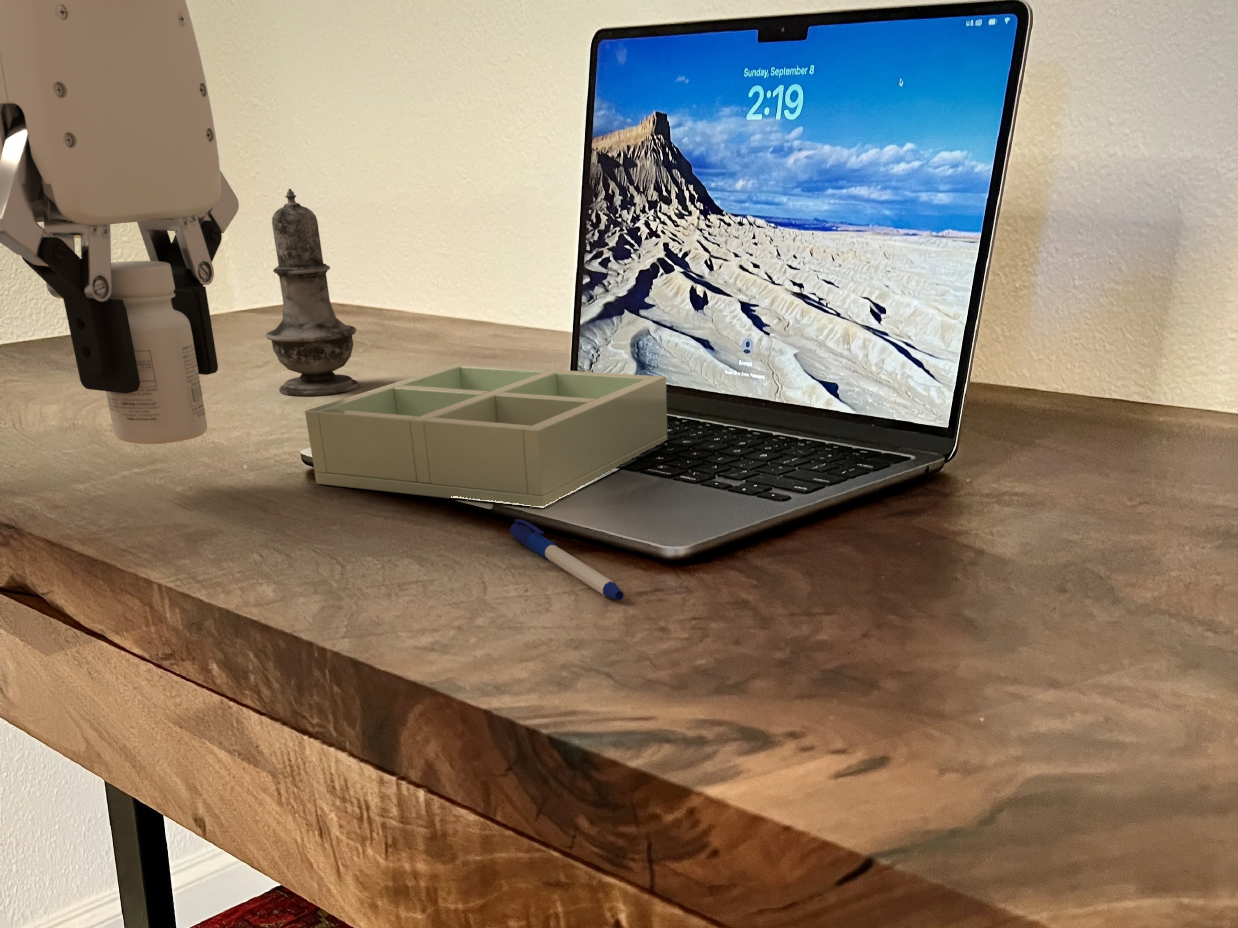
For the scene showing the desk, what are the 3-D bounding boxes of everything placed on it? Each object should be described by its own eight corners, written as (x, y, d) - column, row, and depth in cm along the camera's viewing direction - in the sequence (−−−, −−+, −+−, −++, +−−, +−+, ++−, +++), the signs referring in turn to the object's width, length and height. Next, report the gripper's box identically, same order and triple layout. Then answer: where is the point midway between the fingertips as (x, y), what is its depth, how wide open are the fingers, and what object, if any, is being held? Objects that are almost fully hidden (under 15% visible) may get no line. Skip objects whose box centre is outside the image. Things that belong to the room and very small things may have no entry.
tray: (315, 484, 68) (304, 410, 66) (462, 428, 78) (455, 363, 76) (543, 509, 63) (537, 430, 61) (668, 445, 73) (666, 376, 71)
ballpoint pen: (503, 539, 59) (501, 516, 58) (522, 535, 59) (520, 513, 59) (613, 606, 51) (611, 580, 50) (633, 601, 51) (632, 576, 51)
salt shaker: (381, 383, 91) (356, 185, 85) (319, 399, 87) (288, 192, 81) (319, 377, 94) (290, 185, 88) (256, 392, 90) (221, 191, 83)
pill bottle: (181, 422, 69) (153, 257, 65) (224, 435, 66) (197, 264, 62) (99, 435, 66) (64, 264, 62) (140, 450, 63) (106, 272, 59)
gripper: (150, -59, 63) (214, 349, 73) (-180, -98, 50) (-51, 405, 60) (274, -66, 61) (325, 359, 70) (-41, -109, 48) (72, 421, 57)
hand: (151, 376), depth 65 cm, fingers closed on pill bottle, 4 cm apart
